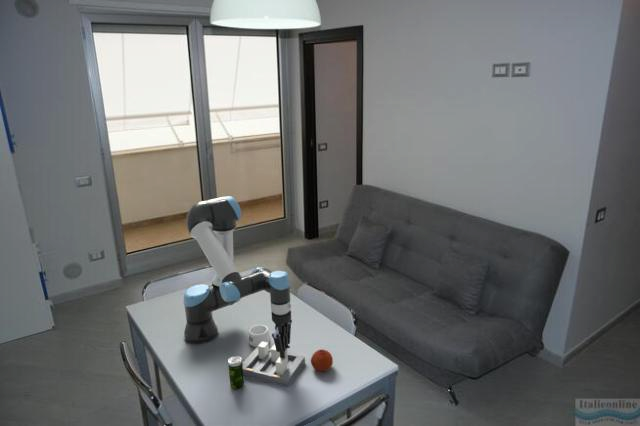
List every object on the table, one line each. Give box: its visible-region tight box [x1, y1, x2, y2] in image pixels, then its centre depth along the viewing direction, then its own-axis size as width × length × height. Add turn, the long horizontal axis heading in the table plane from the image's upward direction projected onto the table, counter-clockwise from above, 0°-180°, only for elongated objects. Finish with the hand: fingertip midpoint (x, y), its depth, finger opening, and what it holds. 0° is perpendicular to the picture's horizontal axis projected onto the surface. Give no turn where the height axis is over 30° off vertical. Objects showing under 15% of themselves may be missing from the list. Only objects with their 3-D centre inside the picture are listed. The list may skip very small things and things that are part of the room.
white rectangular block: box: [258, 341, 270, 360], centre depth 189 cm, size 3×4×6 cm
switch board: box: [242, 347, 306, 387], centre depth 184 cm, size 22×16×3 cm
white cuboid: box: [270, 343, 280, 362], centre depth 187 cm, size 3×4×6 cm
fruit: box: [310, 348, 334, 372], centre depth 182 cm, size 9×9×8 cm
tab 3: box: [275, 357, 287, 376], centre depth 178 cm, size 3×4×6 cm
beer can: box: [227, 355, 245, 392], centre depth 173 cm, size 5×5×12 cm
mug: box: [247, 324, 271, 348], centre depth 204 cm, size 12×10×6 cm
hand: (284, 363), depth 180 cm, fingers closed
